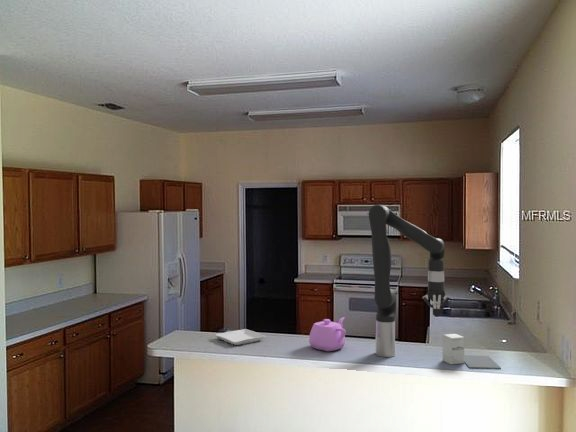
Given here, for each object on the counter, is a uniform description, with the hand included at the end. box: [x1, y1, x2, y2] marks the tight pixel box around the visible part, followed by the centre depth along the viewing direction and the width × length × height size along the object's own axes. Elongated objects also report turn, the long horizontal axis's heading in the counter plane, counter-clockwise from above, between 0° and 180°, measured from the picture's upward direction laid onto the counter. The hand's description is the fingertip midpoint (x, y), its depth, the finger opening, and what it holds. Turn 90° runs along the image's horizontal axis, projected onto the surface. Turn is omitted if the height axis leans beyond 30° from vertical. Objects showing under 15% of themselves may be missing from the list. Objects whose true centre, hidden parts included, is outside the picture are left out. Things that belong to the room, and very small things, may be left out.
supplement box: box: [441, 333, 465, 365], centre depth 233 cm, size 7×7×13 cm
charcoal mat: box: [463, 354, 502, 370], centre depth 232 cm, size 14×18×1 cm
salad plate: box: [214, 328, 266, 346], centre depth 273 cm, size 21×21×3 cm
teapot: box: [308, 316, 347, 352], centre depth 258 cm, size 23×21×15 cm
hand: (436, 316), depth 233 cm, fingers closed
